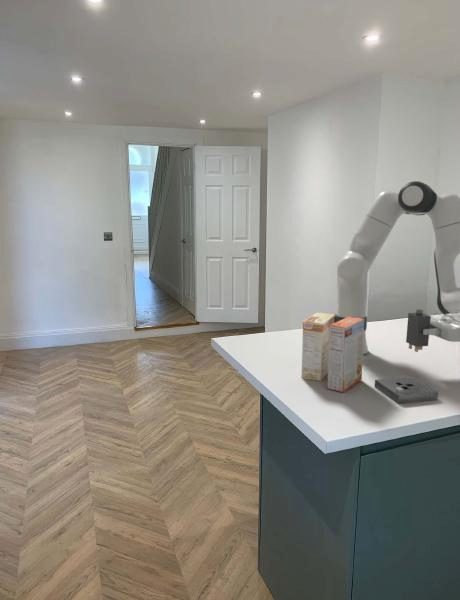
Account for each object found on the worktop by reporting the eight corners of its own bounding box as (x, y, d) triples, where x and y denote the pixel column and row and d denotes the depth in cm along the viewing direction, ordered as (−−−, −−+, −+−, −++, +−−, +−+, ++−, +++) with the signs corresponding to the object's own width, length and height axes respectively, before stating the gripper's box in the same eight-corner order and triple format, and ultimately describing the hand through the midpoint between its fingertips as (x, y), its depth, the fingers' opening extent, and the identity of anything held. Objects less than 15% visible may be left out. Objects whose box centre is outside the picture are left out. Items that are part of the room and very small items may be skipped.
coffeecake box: (313, 364, 166) (315, 312, 162) (333, 367, 163) (335, 314, 159) (300, 378, 153) (302, 321, 149) (321, 381, 150) (323, 323, 146)
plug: (405, 347, 155) (408, 308, 152) (417, 347, 156) (420, 308, 153) (415, 352, 149) (419, 312, 147) (427, 351, 150) (431, 311, 148)
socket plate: (374, 387, 145) (375, 377, 144) (410, 383, 148) (411, 373, 147) (398, 403, 132) (399, 393, 132) (437, 399, 135) (438, 389, 135)
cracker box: (345, 376, 154) (348, 315, 150) (362, 380, 151) (366, 318, 147) (325, 388, 144) (328, 323, 140) (343, 393, 140) (346, 327, 136)
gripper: (432, 310, 163) (398, 312, 160) (475, 324, 144) (436, 327, 141) (431, 327, 165) (396, 330, 161) (473, 344, 145) (434, 347, 142)
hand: (415, 328), depth 151 cm, fingers closed on plug, 5 cm apart
